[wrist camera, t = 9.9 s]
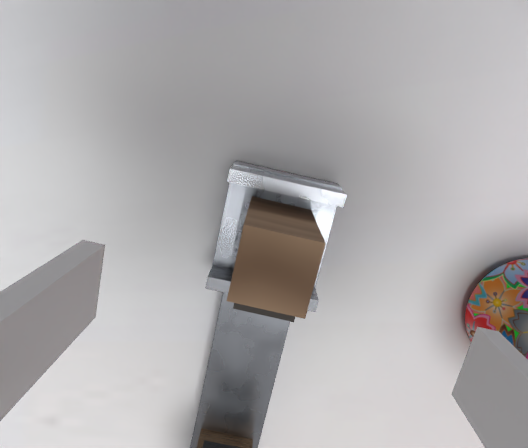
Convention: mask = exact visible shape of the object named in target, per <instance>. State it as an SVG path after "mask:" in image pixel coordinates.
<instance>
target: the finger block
mask: <svg viewBox="0 0 528 448" xmlns="http://www.w3.org/2000/svg"><path fill="white" fill-rule="evenodd" d="M325 244H326V243H325V240H324V238H323V236H322V234H321V231H320V229H319V227H318V224H317V222H316V220H315V218H314V215H313V213H312V211H311V210H309V209H305V208H301V207H296V206H292V205H288V204H283V203H279V202H275V201H270V200H266V199H262V198H258V197H253V196H252V198H251V201H250V205H249V208H248V212H247V215H246V219H245V222H244V226H243V230H242V235H241V239H240V243H239V248H238V252H237V257H236V261H235V265H234V270H233V274H232V279H231V283H230V288H229V292H228V296H227V301H228V302H233V303H234V306H233V309H237V310H241V311H246V312H250V313H255V314H259V315H264V316H268V317H273V318H277V319H282V320H286V321H291V322H294V319H295V317H300V318H304V319H305V317H306V313H307V309H308V306H309V302H310V299H311V295H312V291H313V288H314V284H315V281H316V277H317V273H318V270H319V266H320V263H321V259H322V255H323V252H324V248H325Z"/></svg>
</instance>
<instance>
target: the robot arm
mask: <svg viewBox="0 0 528 448" xmlns="http://www.w3.org/2000/svg"><path fill="white" fill-rule="evenodd" d="M104 249H105V245H103V244H99V243H94V242H90V241H85V240H82V241H80V242H79V243H77V244H76V245H74V246H72V247H71V248H69V249H68V250H66V251H65V252H63V253H61V254H60V255H58V256H57V257H55V258H53V259H52V260H50V261H49V262H47V263H45V264H44V265H42V266H41V267H39V268H37V269H36V270H34V271H33V272H31V273H30V274H28V275H26V276H25V277H23V278H22V279H20V280H18V281H17V282H15V283H14V284H12V285H10V286H9V287H7V288H6V289H4V290H2V291H1V292H0V421H1V420H2V419H3V418H4V417H5V415H6V414H7V413H8V412H9V411H10V410H11V409H12V408H13V407H14V406H15V404H16V403H17V402H18V401H19V400H20V399H21V398H22V397H23V396H24V395H25V394H26V392H27V391H28V390H29V389H30V388H31V387H32V386H33V385H34V384H35V383H36V382H37V380H38V379H39V378H40V377H41V376H42V375H43V374H44V373H45V372H46V371H47V369H48V368H49V367H50V366H51V365H52V364H53V363H54V362H55V361H56V360H57V359H58V357H59V356H60V355H61V354H62V353H63V352H64V351H65V350H66V349H67V348H68V347H69V345H70V344H71V343H72V342H73V341H74V340H75V339H76V338H77V337H78V336H79V334H80V333H81V332H82V331H83V330H84V329H85V328H86V327H87V326H88V325H89V324H90V322H91V321H92V320H93V319H94V318H95V316H96V309H97V301H98V294H99V286H100V279H101V271H102V264H103V256H104ZM452 396H453V397H454V399H455V400H456V402H457V404H458V405H459V407H460V408H461V410H462V412H463V413H464V415H465V416H466V418H467V420H468V421H469V423H470V424H471V426H472V427H473V429H474V431H475V432H476V434H477V435H478V437H479V439H480V440H481V442H482V443H483V445H484V447H485V448H528V359H526V358H525V357H524V356H523V355H522V354H521V353H520V352H519V351H518V350H517V349H516V348H515V347H514V346H513V345H512V344H511V343H510V342H509V341H508V340H507V339H506V338H505V337H504V336H503V335H502V334H501V333H500V332H499V331H494V330H490V329H485V328H481V327H477V329H476V332H475V334H474V337H473V339H472V342H471V345H470V347H469V350H468V352H467V355H466V358H465V360H464V363H463V366H462V368H461V371H460V373H459V376H458V379H457V381H456V384H455V386H454V389H453V392H452Z"/></svg>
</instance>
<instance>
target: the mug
mask: <svg viewBox="0 0 528 448" xmlns="http://www.w3.org/2000/svg"><path fill="white" fill-rule="evenodd" d="M465 325H466V330H467V333H468V336H469V338H470V341H471V342H472V339H473V337H474V334H475V332H476V329H477V327H481V328H485V329H490V330H494V331H499V332H500V333H501V334H502V335H503V336H504V337H505V338H506V339H507V340H508V341H509V342H510V343H511V344H512V345H513V346H514V347H515V348H516V349H517V350H518V351H519V352H520V353H521V354H522V355H523V356H524V357H525V358H526V359H528V258H524V259H518V260H514V261H511V262H508V263H506V264H503V265H501V266H499V267H498V268H496V269H494V270H493V271H491V272H490V273H489V274H488V275H486V276H485V277H484V278H483V279H482V280H481V281H480V282H479V284H478V285H477V286H476V288H475V289H474V291H473V292H472V294H471V296H470V298H469V301H468V304H467V307H466V313H465Z"/></svg>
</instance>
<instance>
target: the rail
mask: <svg viewBox="0 0 528 448" xmlns="http://www.w3.org/2000/svg"><path fill="white" fill-rule="evenodd" d="M227 182H230V183H229V188H228V193H227V198H226V203H225V207H224V212H223V217H222V222H221V227H220V232H219V237H218V242H217V247H216V252H215V257H214V261H213V266H212V268H211V271H210V273H209V275H208V279H207V284H206V289H211V290H216V291H220V292H223V297H222V301H221V306H220V311H219V315H218V320H217V325H216V329H215V334H214V339H213V344H212V348H211V353H210V358H209V362H208V367H207V372H206V376H205V381H204V386H203V390H202V395H201V400H200V404H199V409H198V414H197V419H196V423H195V428H194V433H193V437H192V442H191V447H190V448H258V444H259V440H260V436H261V432H262V428H263V424H264V420H265V417H266V413H267V409H268V405H269V401H270V397H271V393H272V389H273V386H274V382H275V378H276V374H277V370H278V366H279V362H280V358H281V354H282V351H283V347H284V343H285V339H286V335H287V331H288V327H289V323H290V321H286V320H282V319H277V318H273V317H268V316H264V315H259V314H255V313H250V312H246V311H241V310H237V309H233V306H234V303H233V302H228V301H227V296H228V292H229V288H230V283H231V279H232V274H233V270H234V265H235V261H236V257H237V252H238V248H239V243H240V239H241V235H242V230H243V226H244V222H245V219H246V215H247V212H248V208H249V205H250V201H251V198H252V196H253V197H258V198H262V199H266V200H270V201H275V202H279V203H283V204H288V205H292V206H296V207H301V208H305V209H309V210H311V211H312V213H313V215H314V218H315V220H316V222H317V224H318V227H319V229H320V231H321V234H322V236H323V238H324V240H325V243H326V244H325V248H324V252H325V249H326V245H327V241H328V238H329V234H330V230H331V226H332V223H333V219H334V215H335V211H336V208H337V206H338V207H343V208H344V204H345V201H346V197H347V194H346V193H345V192H344V191H343V190H342V188H341V187H340V186H339V185H338V184H337V183H332V182H328V181H323V180H319V179H315V178H310V177H306V176H301V175H297V174H292V173H288V172H283V171H279V170H275V169H270V168H266V167H261V166H257V165H252V164H248V163H243V162H239V161H235V162H234V163H233V166H232V167H231V168H230V170H229V175H228V180H227ZM324 252H323V255H322V259H321V263H320V266H319V270H318V273H317V277H316V281H315V284H314V288H313V291H312V295H311V299H310V302H309V306H308V309H307V310H308V311H313V312H315V311H316V308H317V304H318V297H317V293H316V289H315V286H316V282H317V279H318V275H319V271H320V267H321V264H322V260H323V256H324Z"/></svg>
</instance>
